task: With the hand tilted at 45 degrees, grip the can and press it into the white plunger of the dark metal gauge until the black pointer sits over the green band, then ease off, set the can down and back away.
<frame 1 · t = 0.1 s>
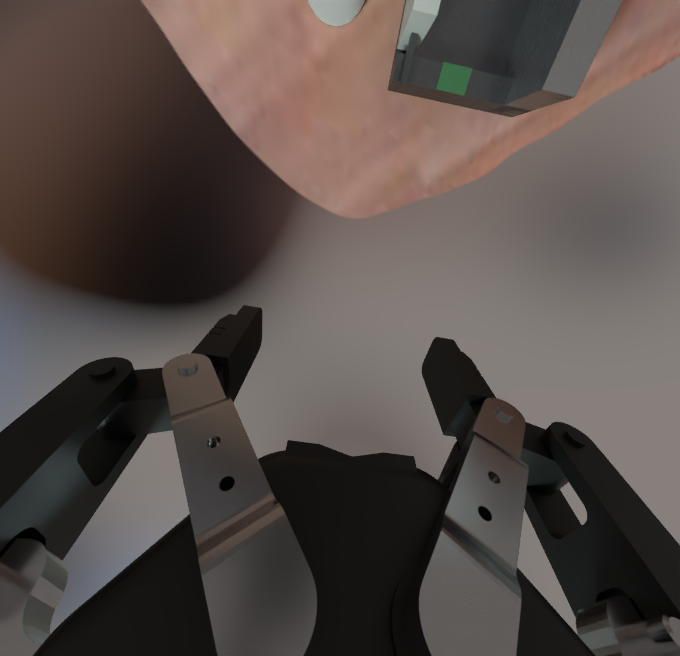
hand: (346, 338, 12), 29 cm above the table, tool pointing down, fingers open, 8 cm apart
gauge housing: (435, 3, 26), on the table
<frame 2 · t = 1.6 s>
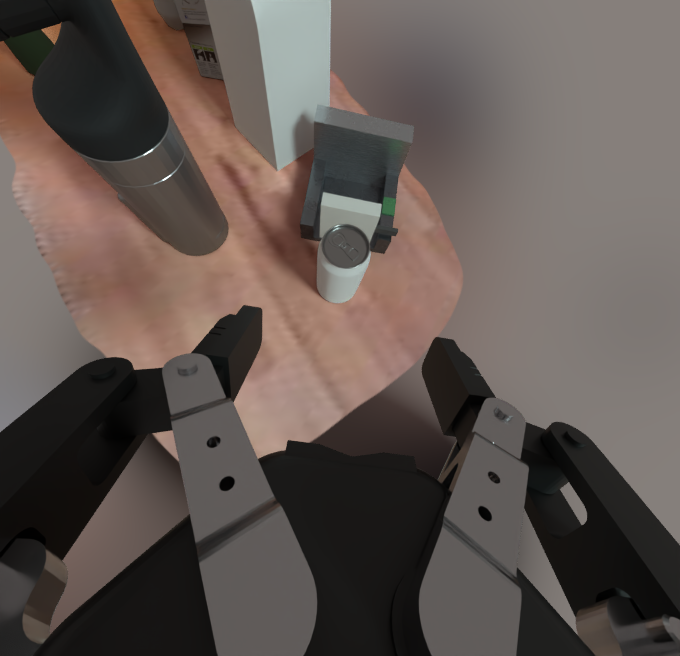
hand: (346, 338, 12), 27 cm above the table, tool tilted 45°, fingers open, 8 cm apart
milk: (283, 133, 46), on the table
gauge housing: (345, 230, 43), on the table
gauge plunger: (359, 224, 38), point 5 cm above the table, slide at 0.0 cm
character mug: (49, 67, 44), on the table
coffee box: (222, 62, 48), on the table
can: (336, 285, 41), on the table
salt shaker: (179, 23, 49), on the table
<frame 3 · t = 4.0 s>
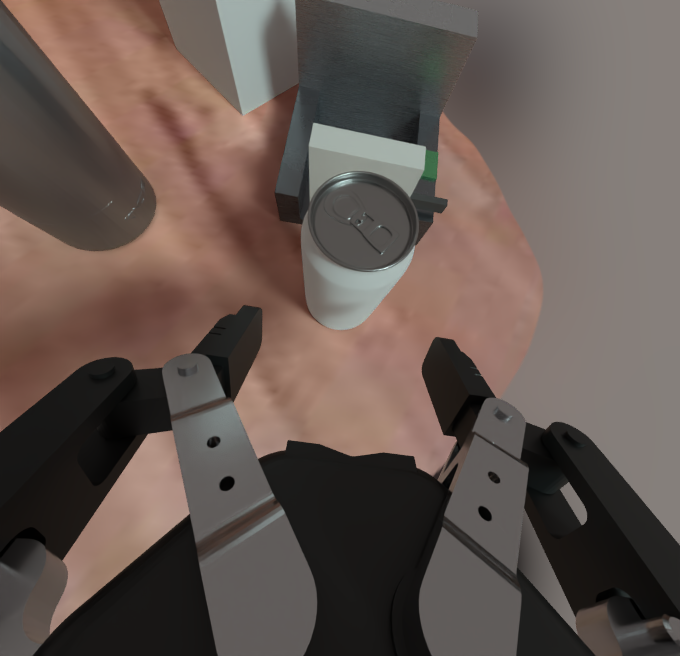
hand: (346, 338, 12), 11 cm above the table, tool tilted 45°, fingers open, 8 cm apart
milk: (252, 60, 30), on the table
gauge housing: (353, 207, 26), on the table
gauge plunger: (379, 191, 21), point 5 cm above the table, slide at 0.0 cm
can: (339, 298, 24), on the table
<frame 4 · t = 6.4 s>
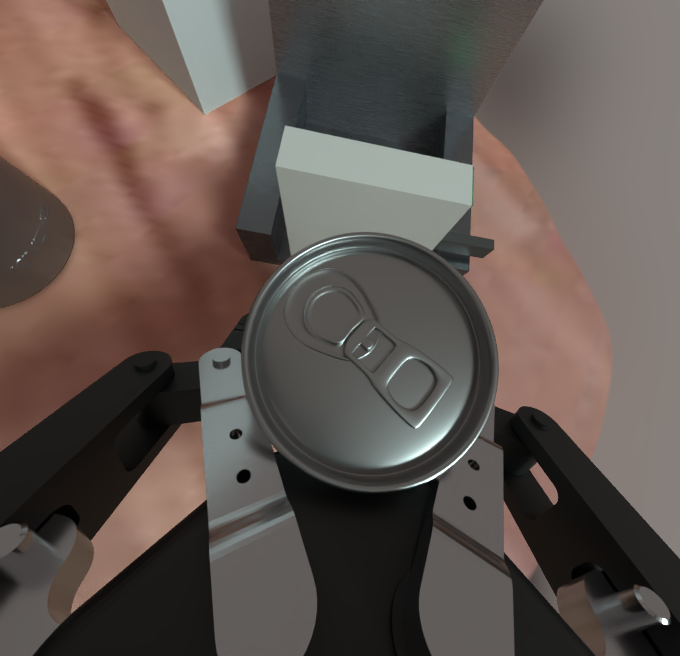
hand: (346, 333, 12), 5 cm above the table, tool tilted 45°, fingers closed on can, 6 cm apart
milk: (221, 42, 22), on the table
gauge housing: (352, 240, 19), on the table
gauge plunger: (392, 228, 14), point 5 cm above the table, slide at 0.0 cm
can: (333, 372, 17), on the table, touching gripper
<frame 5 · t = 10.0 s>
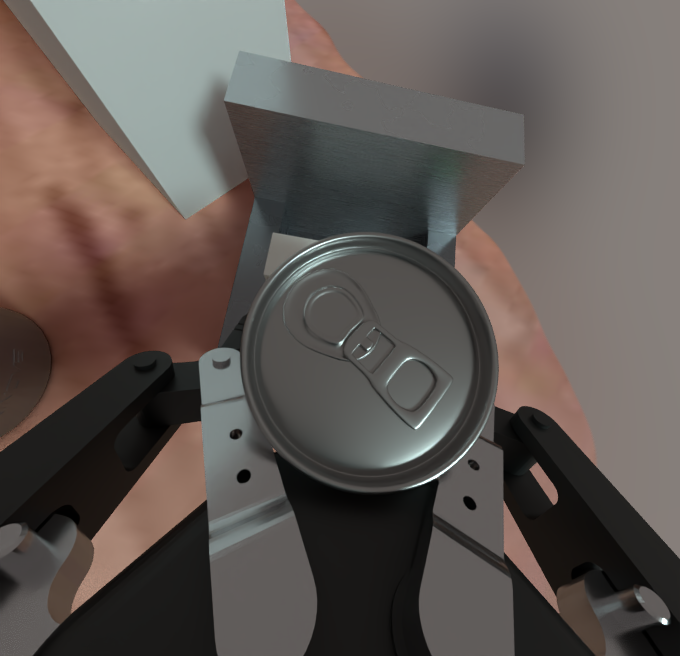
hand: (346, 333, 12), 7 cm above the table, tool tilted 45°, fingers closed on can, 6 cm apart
milk: (204, 136, 22), on the table
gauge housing: (334, 353, 19), on the table
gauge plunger: (377, 302, 15), point 5 cm above the table, slide at 4.8 cm, touching can
can: (333, 372, 17), point 2 cm above the table, touching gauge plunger, gripper
when the fingers open (6 cm above the table, at t = 14.0 s): can stays where it is, on the table.
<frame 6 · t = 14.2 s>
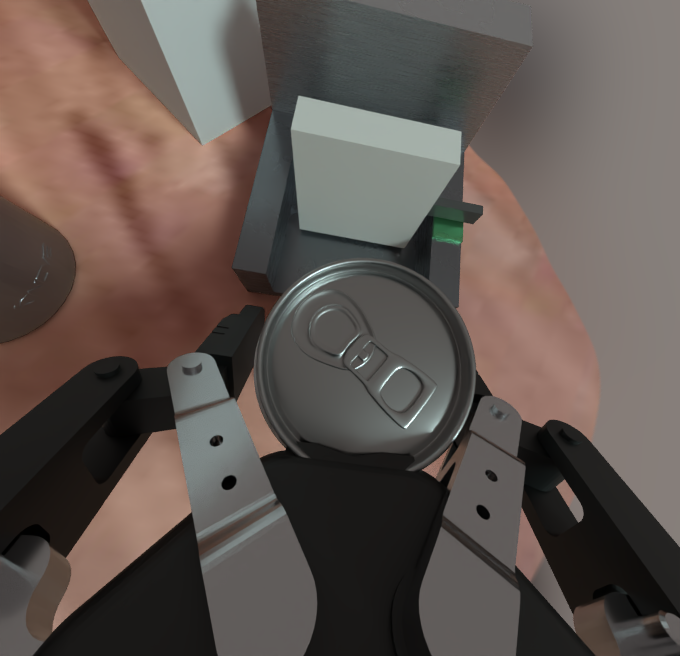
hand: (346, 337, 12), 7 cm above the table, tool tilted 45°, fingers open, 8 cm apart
milk: (219, 72, 23), on the table
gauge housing: (347, 270, 20), on the table
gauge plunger: (391, 195, 16), point 5 cm above the table, slide at 5.0 cm
can: (333, 375, 18), on the table
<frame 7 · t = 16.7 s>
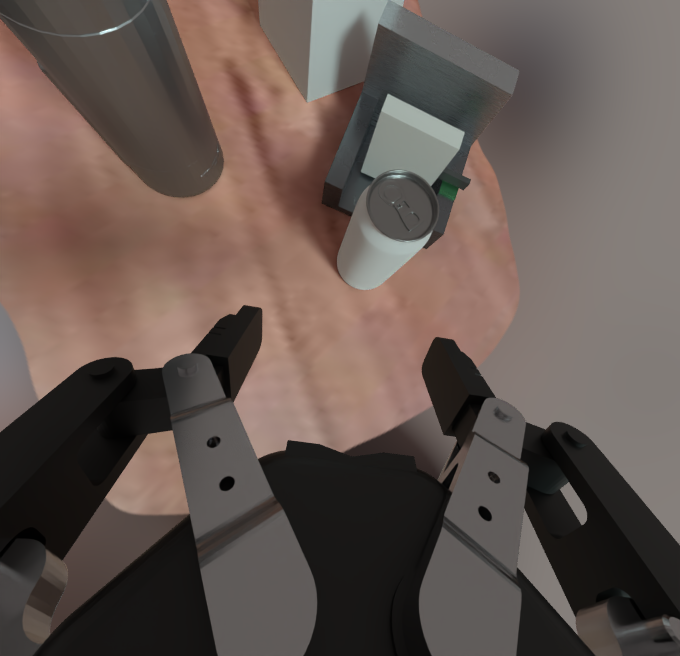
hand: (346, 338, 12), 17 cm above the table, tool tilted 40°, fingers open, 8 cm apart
milk: (324, 51, 33), on the table
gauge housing: (382, 205, 32), on the table
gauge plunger: (421, 161, 27), point 5 cm above the table, slide at 5.0 cm
can: (362, 265, 30), on the table
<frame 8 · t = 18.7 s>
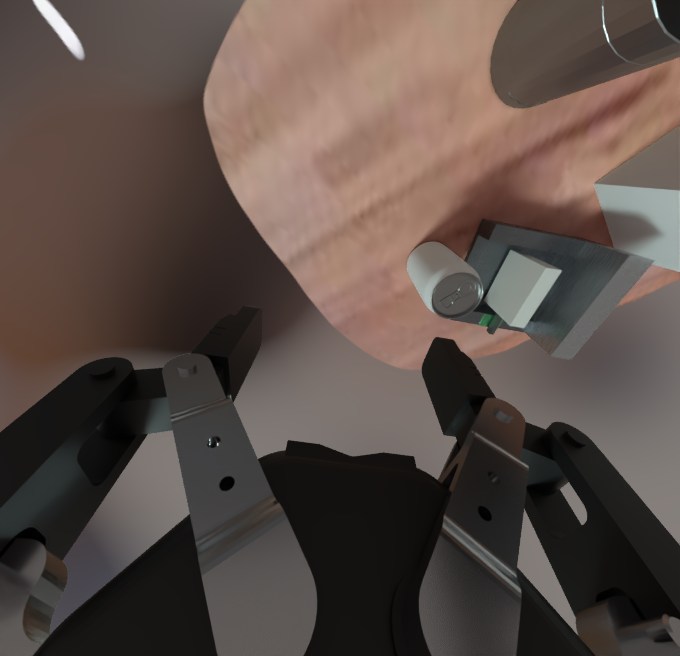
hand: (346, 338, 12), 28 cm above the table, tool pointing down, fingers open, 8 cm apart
milk: (655, 189, 33), on the table
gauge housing: (480, 271, 39), on the table
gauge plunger: (510, 299, 36), point 5 cm above the table, slide at 5.0 cm
can: (427, 262, 38), on the table
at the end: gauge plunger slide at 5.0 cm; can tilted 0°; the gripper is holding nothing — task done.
